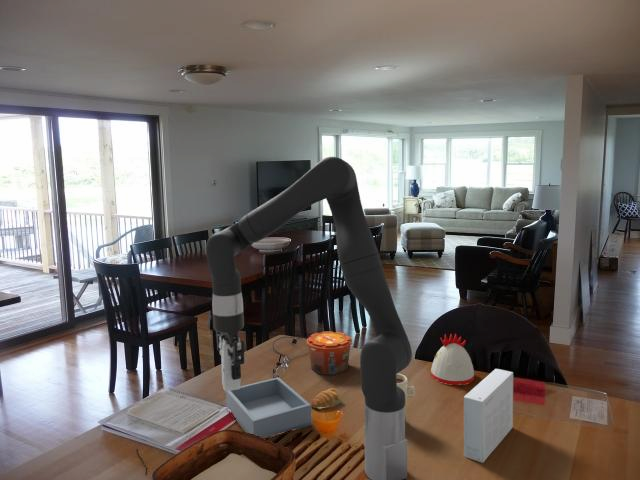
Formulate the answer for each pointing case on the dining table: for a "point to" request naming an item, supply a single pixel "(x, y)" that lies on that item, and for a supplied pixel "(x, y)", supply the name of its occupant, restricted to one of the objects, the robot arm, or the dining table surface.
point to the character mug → (405, 386)
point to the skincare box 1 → (228, 370)
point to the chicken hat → (452, 363)
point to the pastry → (327, 398)
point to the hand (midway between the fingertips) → (231, 373)
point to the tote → (268, 408)
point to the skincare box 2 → (488, 414)
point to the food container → (329, 352)
